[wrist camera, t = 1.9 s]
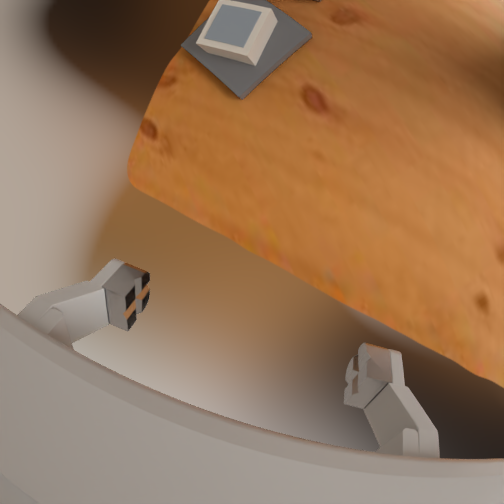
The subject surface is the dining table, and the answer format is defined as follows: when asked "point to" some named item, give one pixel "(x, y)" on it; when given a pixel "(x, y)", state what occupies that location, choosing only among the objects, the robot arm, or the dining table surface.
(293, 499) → the robot arm
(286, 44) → the base board
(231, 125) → the dining table surface
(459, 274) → the dining table surface
